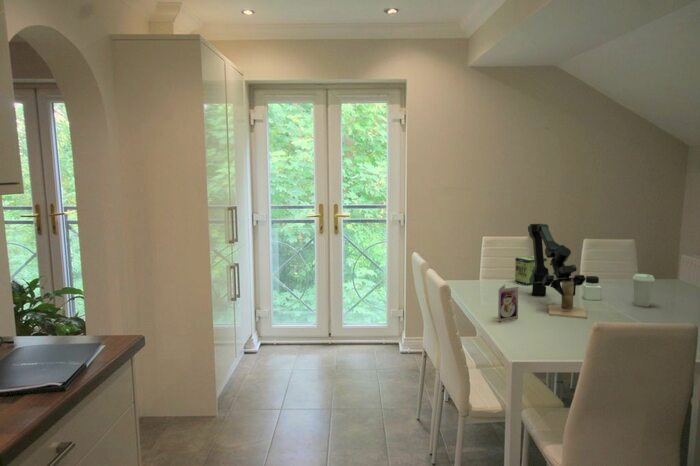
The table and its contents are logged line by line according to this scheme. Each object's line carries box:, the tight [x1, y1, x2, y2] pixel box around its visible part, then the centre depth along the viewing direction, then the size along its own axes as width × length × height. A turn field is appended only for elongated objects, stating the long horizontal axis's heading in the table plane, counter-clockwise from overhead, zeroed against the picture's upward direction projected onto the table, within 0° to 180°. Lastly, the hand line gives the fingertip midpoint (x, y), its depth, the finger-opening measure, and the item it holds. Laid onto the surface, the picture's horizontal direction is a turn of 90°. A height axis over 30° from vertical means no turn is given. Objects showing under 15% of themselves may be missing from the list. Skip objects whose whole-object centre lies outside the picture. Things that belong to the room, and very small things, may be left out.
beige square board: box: [548, 304, 588, 319], centre depth 220 cm, size 16×16×1 cm
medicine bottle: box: [582, 275, 602, 301], centre depth 244 cm, size 7×7×12 cm
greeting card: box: [497, 284, 520, 323], centre depth 211 cm, size 11×7×15 cm, turn 114°
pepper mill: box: [560, 280, 574, 310], centre depth 219 cm, size 5×5×13 cm
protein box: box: [514, 255, 548, 286], centre depth 283 cm, size 10×16×16 cm
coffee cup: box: [631, 273, 656, 308], centre depth 230 cm, size 10×10×15 cm
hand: (568, 295), depth 218 cm, fingers closed on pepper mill, 5 cm apart
